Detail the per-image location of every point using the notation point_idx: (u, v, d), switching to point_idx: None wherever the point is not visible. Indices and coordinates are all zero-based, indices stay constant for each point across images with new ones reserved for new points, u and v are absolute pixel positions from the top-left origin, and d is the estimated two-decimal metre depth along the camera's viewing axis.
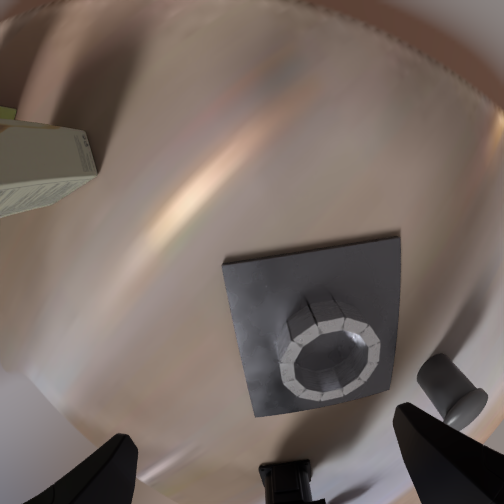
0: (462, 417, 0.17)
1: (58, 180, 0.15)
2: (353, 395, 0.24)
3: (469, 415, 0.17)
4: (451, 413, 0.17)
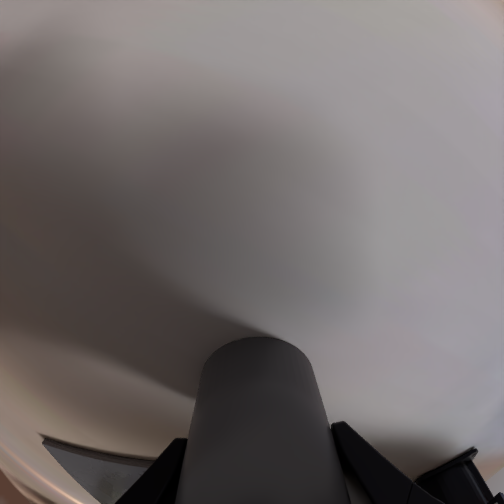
0: None
1: None
2: None
3: None
4: None
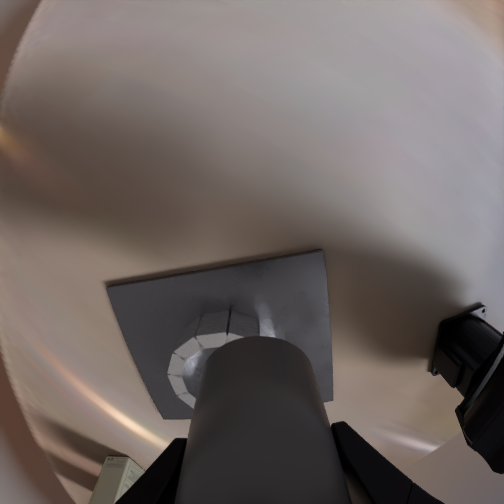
0: None
1: (121, 486, 0.21)
2: (319, 307, 0.20)
3: None
4: None
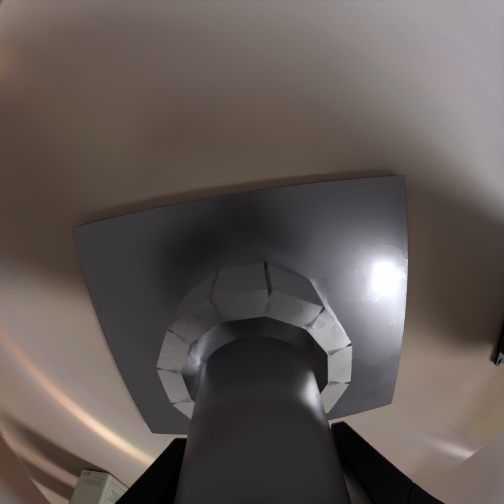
0: None
1: None
2: (396, 262, 0.12)
3: None
4: None
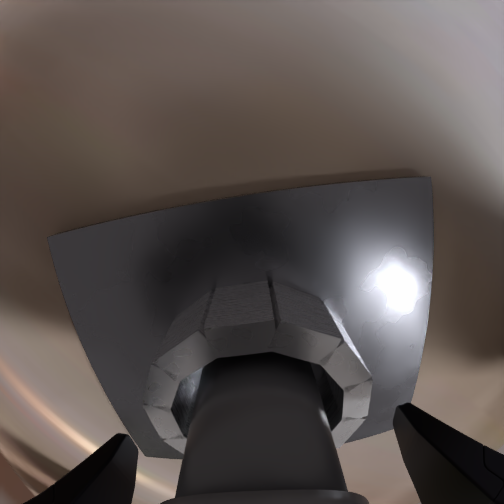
0: None
1: None
2: (420, 276, 0.10)
3: None
4: None
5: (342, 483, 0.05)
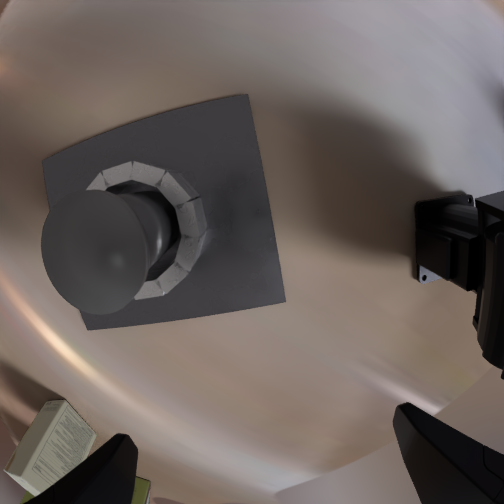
0: (92, 272, 0.10)
1: (50, 430, 0.18)
2: (249, 155, 0.17)
3: (89, 248, 0.10)
4: None
5: None
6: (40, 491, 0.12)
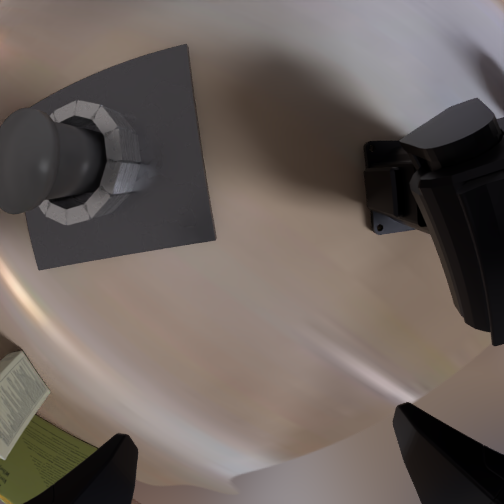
0: (16, 174, 0.09)
1: (2, 376, 0.17)
2: (182, 95, 0.16)
3: (17, 154, 0.09)
4: None
5: None
6: None
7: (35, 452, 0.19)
